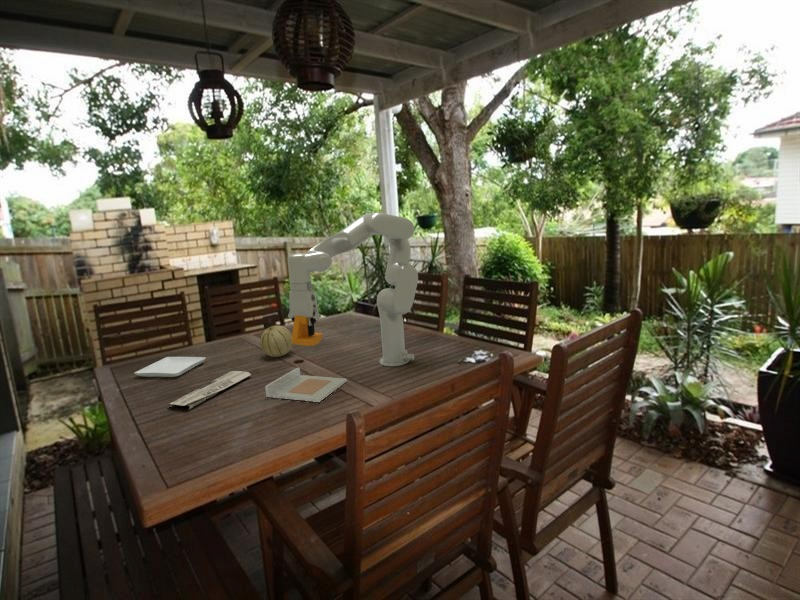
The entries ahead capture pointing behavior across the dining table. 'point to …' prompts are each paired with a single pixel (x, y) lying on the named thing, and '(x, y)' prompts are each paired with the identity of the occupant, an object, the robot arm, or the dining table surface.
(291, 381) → the plate
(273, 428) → the dining table surface
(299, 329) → the bracket
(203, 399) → the newspaper
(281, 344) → the cantaloupe
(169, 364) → the salad plate
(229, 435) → the dining table surface
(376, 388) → the dining table surface
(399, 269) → the robot arm
